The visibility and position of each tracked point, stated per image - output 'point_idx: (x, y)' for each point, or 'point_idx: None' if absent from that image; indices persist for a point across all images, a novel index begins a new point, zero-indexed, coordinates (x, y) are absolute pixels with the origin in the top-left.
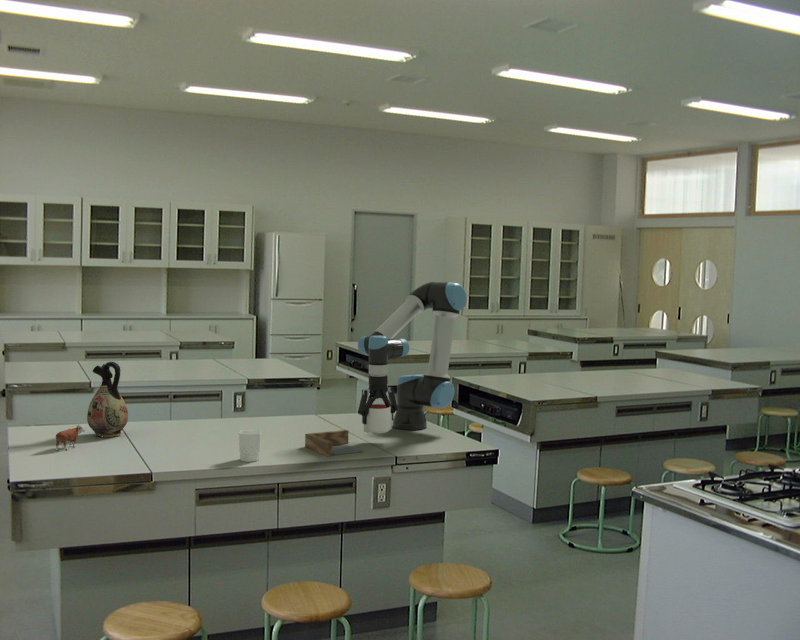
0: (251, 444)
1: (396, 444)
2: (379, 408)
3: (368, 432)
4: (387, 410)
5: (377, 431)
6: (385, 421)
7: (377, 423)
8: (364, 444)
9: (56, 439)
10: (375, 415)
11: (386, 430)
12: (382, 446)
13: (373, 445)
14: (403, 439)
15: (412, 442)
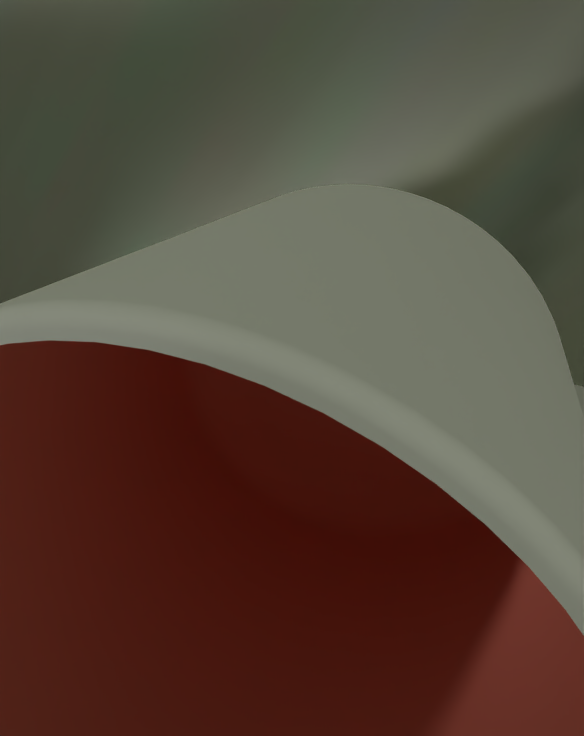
0: None
1: (275, 109)
2: (70, 673)
3: (578, 387)
4: (117, 277)
5: (512, 256)
6: (334, 211)
7: (521, 299)
8: (575, 364)
9: None
10: (576, 436)
11: (351, 185)
12: (499, 129)
13: (539, 253)
14: (82, 253)
15: (75, 79)
